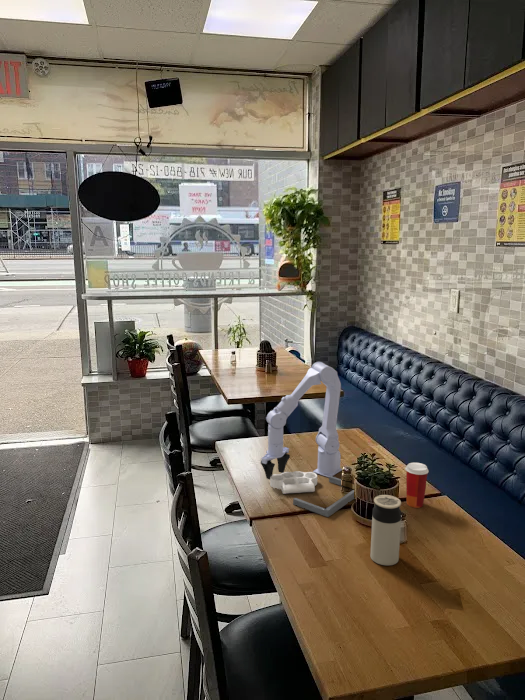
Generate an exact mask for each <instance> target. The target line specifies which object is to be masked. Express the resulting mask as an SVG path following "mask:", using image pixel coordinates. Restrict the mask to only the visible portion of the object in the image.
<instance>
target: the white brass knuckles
mask: <svg viewBox="0 0 525 700" xmlns="http://www.w3.org/2000/svg"><path fill="white" fill-rule="evenodd" d="M317 485H318V474H317V473H314V472H313V471H307V472H306V471H305V472H304V471H299V470H297V471H296V470H295V471H284V473H281V472H280V473H278V474H277V473H276V474H275V473H273V474H272V476H271V477H270V480H269V486H270V487H271V488H272V487H273V488H272V489H275V488H277V489H276V490H280V489H281V493H282V495H283V494H284V495H286V494H301V493H314V492H315V491H316V487H315V486H317Z"/></svg>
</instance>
